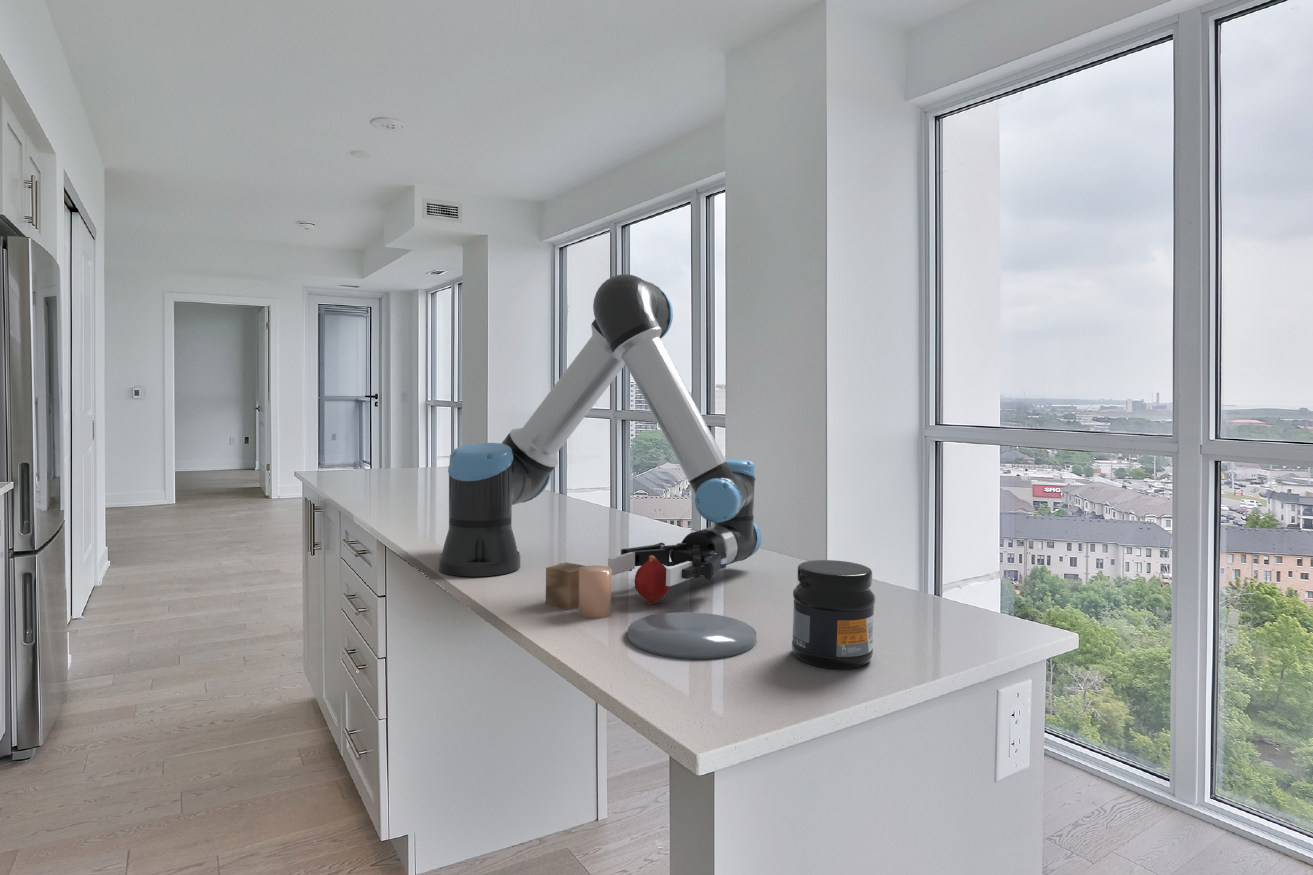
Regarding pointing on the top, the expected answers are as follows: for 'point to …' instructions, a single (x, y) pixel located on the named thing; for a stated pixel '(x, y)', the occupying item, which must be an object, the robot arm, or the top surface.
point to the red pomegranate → (651, 580)
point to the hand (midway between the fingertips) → (638, 572)
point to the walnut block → (563, 585)
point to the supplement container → (833, 614)
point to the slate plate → (692, 635)
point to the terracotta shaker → (594, 592)
